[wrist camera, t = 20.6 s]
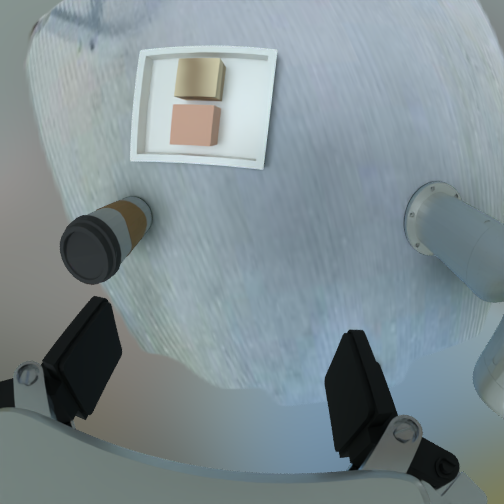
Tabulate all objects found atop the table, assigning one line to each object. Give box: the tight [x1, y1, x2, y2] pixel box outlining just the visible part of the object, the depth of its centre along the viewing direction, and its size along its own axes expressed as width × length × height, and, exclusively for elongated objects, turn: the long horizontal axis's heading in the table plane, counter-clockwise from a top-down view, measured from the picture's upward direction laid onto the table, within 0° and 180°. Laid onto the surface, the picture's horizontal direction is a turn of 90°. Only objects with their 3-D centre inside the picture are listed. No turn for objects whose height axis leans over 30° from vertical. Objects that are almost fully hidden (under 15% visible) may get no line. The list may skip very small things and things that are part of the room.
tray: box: [130, 46, 277, 170], centre depth 31 cm, size 18×16×4 cm
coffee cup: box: [60, 197, 152, 285], centre depth 33 cm, size 8×8×15 cm
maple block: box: [174, 58, 226, 101], centre depth 29 cm, size 5×5×5 cm
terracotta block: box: [170, 104, 221, 146], centre depth 31 cm, size 5×5×5 cm
